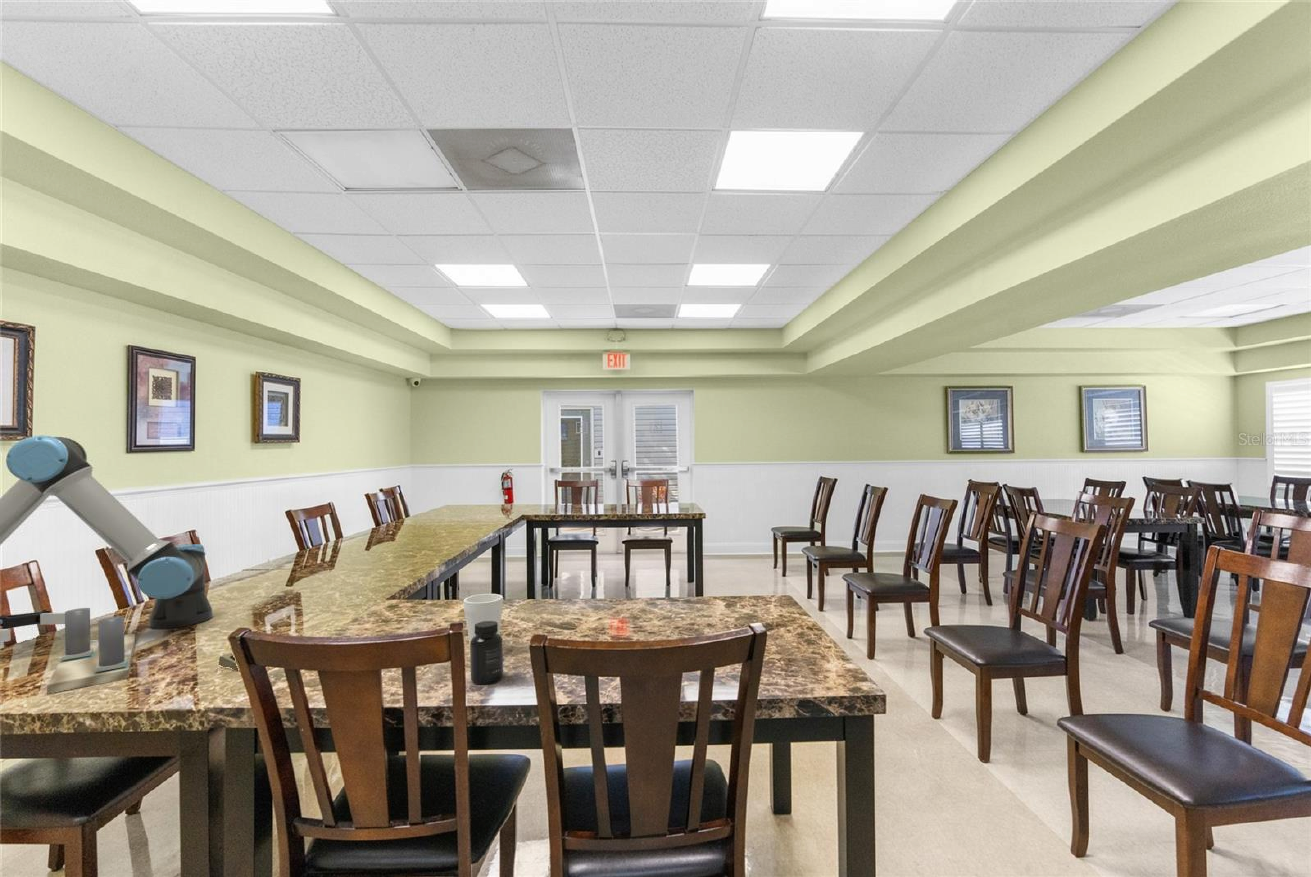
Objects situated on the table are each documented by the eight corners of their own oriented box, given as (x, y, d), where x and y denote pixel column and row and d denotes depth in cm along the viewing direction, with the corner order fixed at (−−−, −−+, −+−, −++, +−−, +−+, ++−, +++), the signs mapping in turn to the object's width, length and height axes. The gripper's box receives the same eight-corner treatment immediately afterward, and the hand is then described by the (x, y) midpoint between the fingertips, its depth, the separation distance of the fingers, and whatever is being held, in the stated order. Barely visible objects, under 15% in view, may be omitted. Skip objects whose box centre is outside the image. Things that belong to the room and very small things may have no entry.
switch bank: (135, 640, 164) (135, 633, 164) (128, 678, 136) (128, 669, 136) (69, 651, 156) (69, 643, 156) (47, 694, 128) (47, 684, 128)
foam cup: (498, 657, 144) (497, 603, 145) (459, 658, 144) (458, 603, 145) (507, 644, 154) (506, 593, 154) (471, 645, 154) (470, 594, 154)
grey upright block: (93, 650, 149) (92, 606, 149) (91, 655, 145) (90, 610, 145) (65, 654, 146) (64, 610, 146) (62, 660, 142) (61, 614, 142)
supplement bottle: (506, 672, 134) (505, 619, 134) (498, 685, 127) (497, 628, 128) (476, 673, 134) (475, 619, 134) (466, 685, 127) (465, 629, 128)
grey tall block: (127, 660, 141) (126, 614, 141) (125, 666, 137) (125, 618, 137) (97, 666, 138) (97, 618, 138) (95, 672, 134) (95, 623, 134)
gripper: (9, 628, 159) (88, 626, 159) (-113, 662, 134) (-19, 660, 134) (8, 599, 159) (87, 597, 159) (-113, 628, 134) (-20, 626, 134)
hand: (39, 626), depth 146 cm, fingers open, 13 cm apart
